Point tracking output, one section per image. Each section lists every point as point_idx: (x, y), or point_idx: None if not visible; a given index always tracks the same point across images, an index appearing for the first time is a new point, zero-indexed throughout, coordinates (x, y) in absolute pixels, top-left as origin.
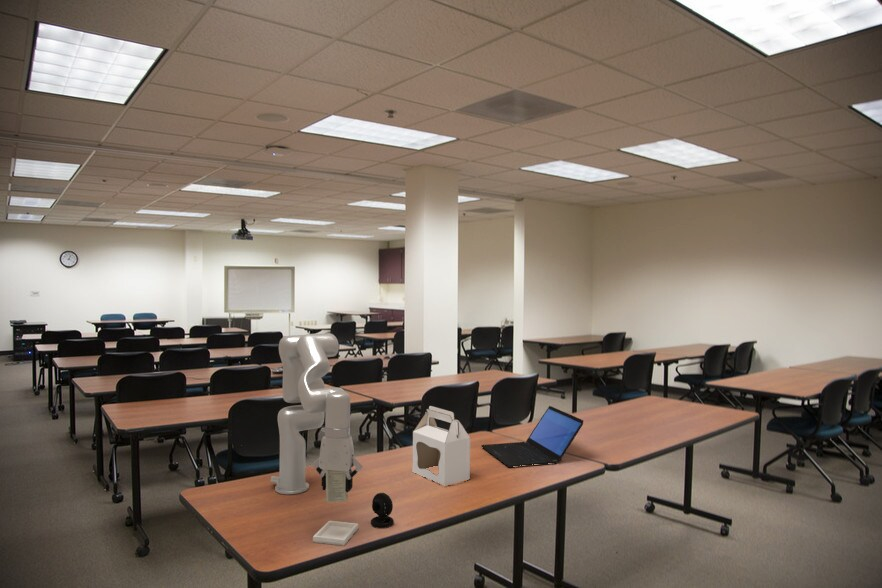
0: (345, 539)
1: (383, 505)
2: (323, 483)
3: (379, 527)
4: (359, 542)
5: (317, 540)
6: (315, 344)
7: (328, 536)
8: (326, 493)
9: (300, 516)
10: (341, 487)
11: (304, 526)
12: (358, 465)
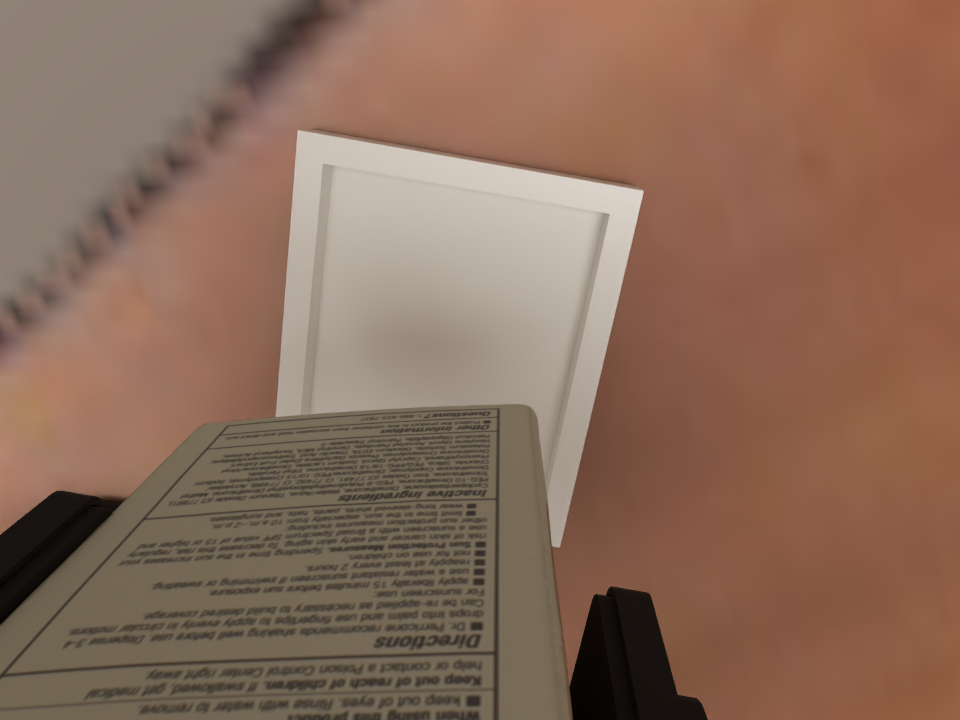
0: (298, 165)
1: None
2: (653, 700)
3: (112, 501)
4: (198, 218)
5: (590, 179)
6: None
7: (503, 283)
8: (534, 477)
9: (846, 685)
10: (154, 564)
11: (778, 507)
12: None
